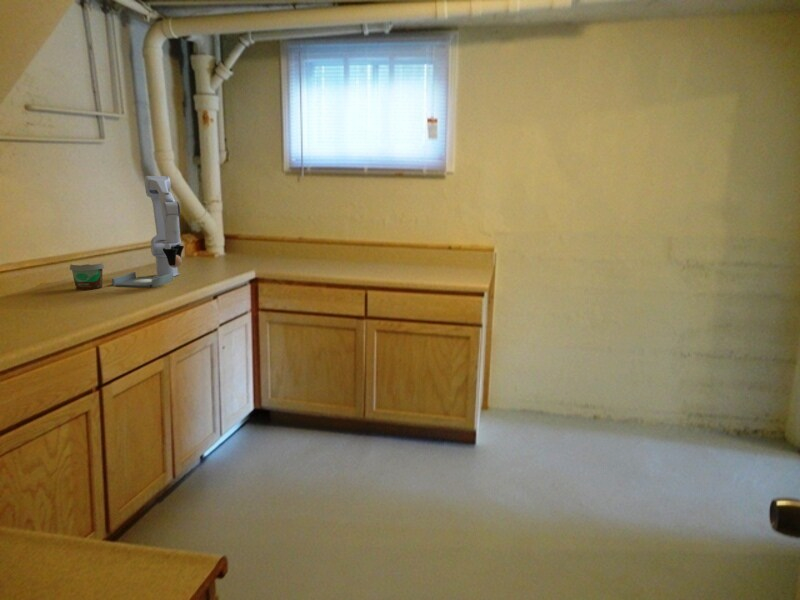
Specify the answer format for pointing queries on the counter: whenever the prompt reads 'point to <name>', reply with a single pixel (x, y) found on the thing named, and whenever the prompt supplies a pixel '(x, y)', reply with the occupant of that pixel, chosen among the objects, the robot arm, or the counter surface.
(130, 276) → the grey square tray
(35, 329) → the counter surface
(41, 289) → the counter surface
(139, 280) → the mat
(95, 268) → the food container
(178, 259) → the ball
